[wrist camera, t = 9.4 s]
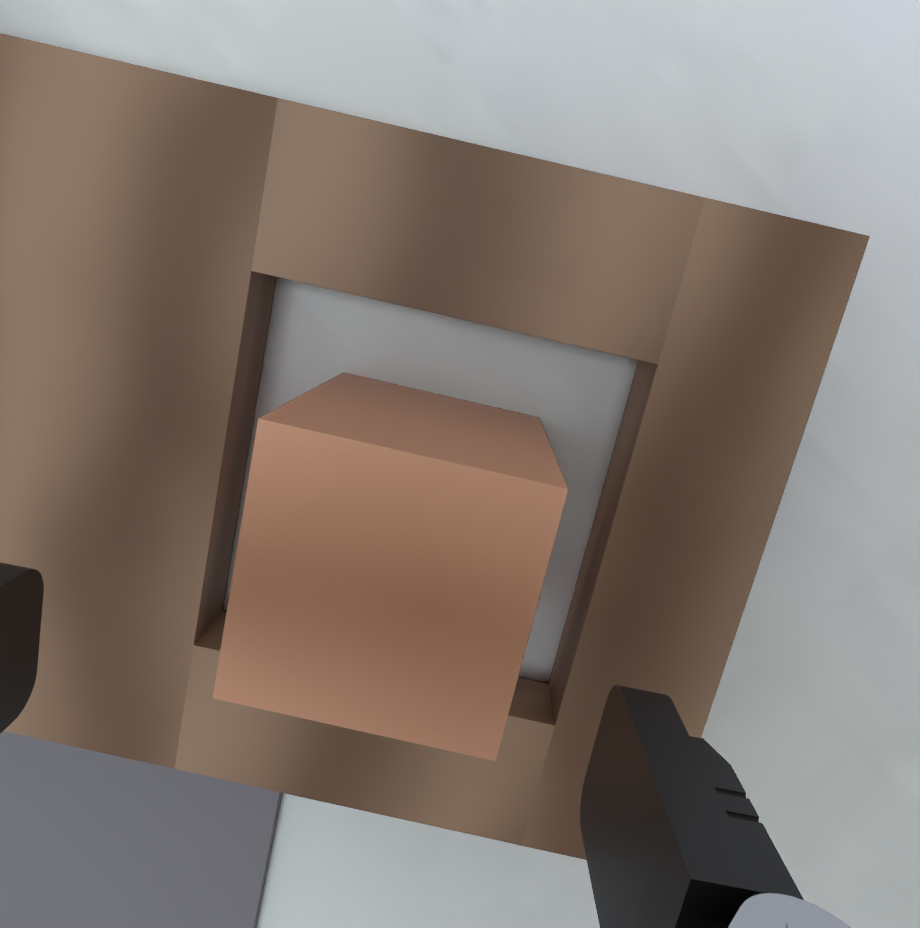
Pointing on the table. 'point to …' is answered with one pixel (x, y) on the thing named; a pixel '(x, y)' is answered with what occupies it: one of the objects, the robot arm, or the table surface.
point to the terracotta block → (390, 563)
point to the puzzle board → (236, 387)
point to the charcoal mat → (126, 842)
